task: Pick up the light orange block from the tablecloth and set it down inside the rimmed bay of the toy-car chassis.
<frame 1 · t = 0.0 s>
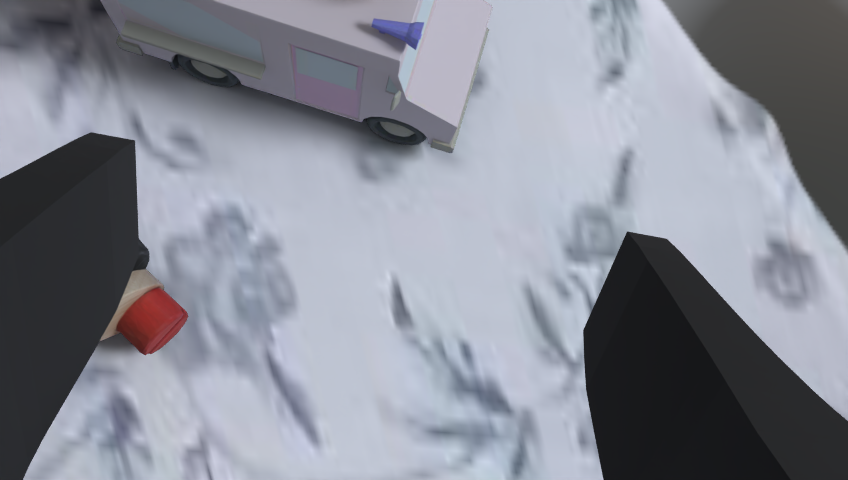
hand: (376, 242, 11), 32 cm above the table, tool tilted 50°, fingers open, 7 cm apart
toy vehicle: (309, 57, 46), on the table
toy construction set: (10, 454, 40), on the table
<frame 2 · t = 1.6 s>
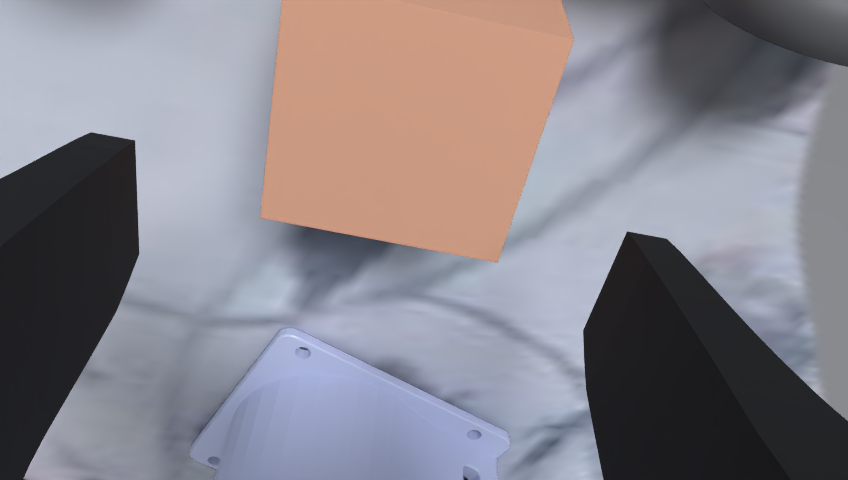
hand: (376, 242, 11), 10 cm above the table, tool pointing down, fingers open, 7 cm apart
light orange block: (416, 20, 19), on the table
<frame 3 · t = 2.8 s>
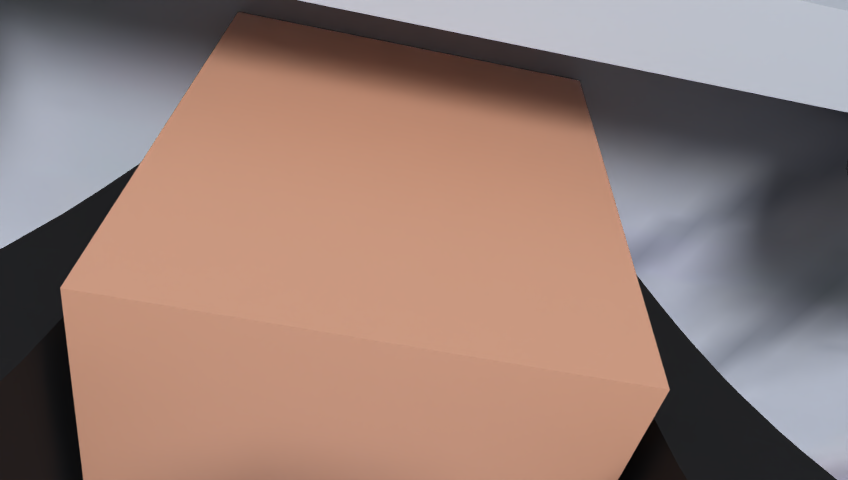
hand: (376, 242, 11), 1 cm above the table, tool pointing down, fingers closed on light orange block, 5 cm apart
light orange block: (384, 189, 12), on the table, touching gripper
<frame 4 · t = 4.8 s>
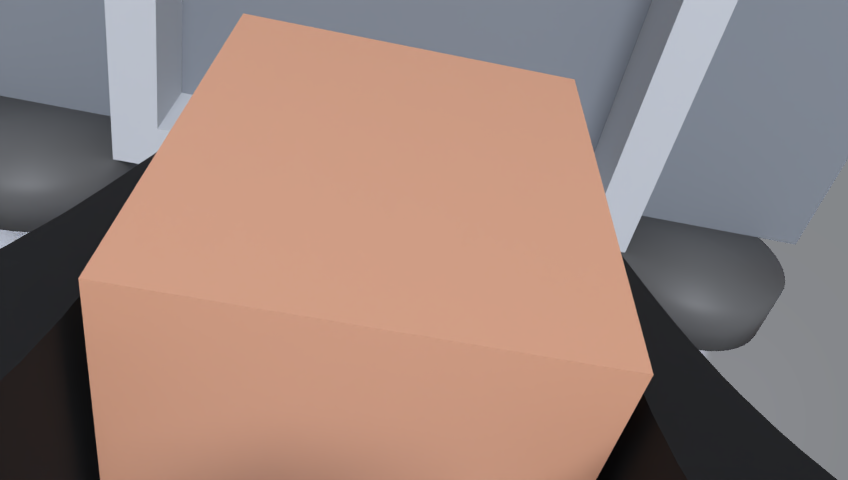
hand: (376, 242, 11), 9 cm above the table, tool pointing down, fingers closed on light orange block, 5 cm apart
light orange block: (385, 185, 13), point 7 cm above the table, touching gripper
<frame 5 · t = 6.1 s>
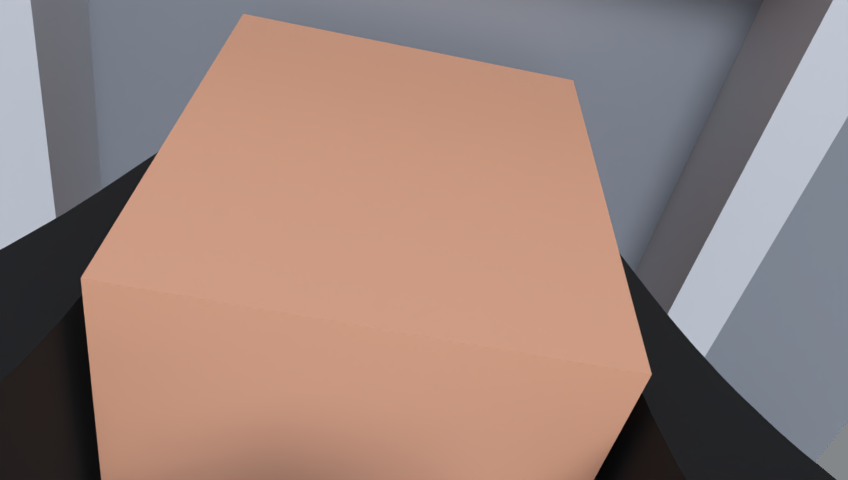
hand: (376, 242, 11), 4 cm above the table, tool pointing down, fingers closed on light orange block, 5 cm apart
chassis: (393, 125, 14), on the table
light orange block: (384, 185, 13), point 2 cm above the table, touching gripper
when the fingers open (4 cm above the table, at t = 6.8 s): light orange block stays where it is, resting on chassis.
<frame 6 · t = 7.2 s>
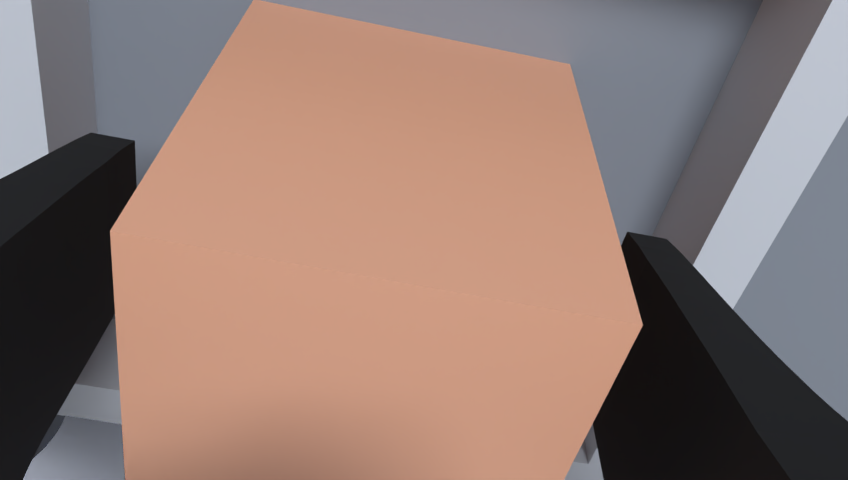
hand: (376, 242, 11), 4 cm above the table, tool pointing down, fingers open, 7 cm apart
chassis: (393, 125, 14), on the table
light orange block: (387, 167, 13), point 1 cm above the table, touching chassis
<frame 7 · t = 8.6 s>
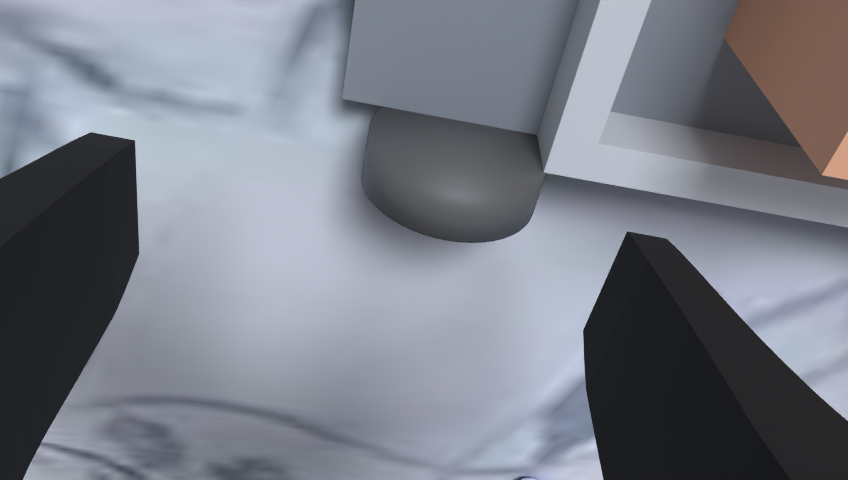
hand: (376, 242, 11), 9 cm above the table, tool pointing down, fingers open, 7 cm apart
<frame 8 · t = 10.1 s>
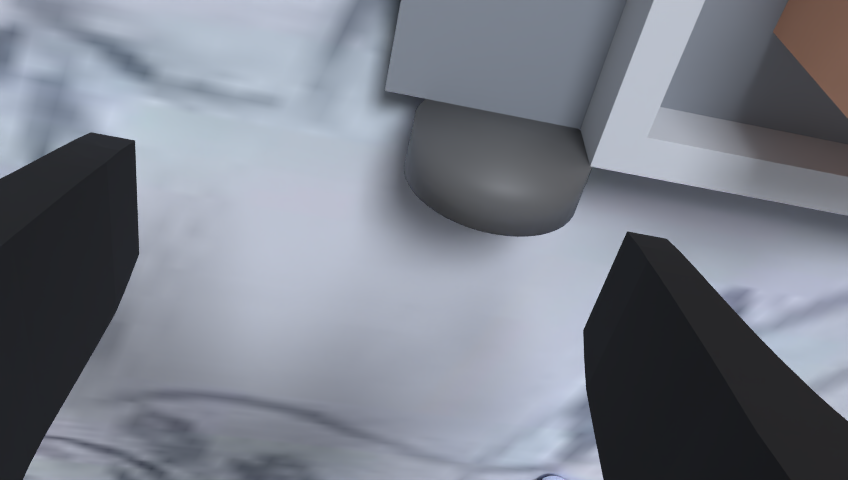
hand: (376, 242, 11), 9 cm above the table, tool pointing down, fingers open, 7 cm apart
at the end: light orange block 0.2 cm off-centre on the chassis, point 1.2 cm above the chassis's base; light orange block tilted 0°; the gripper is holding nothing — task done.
